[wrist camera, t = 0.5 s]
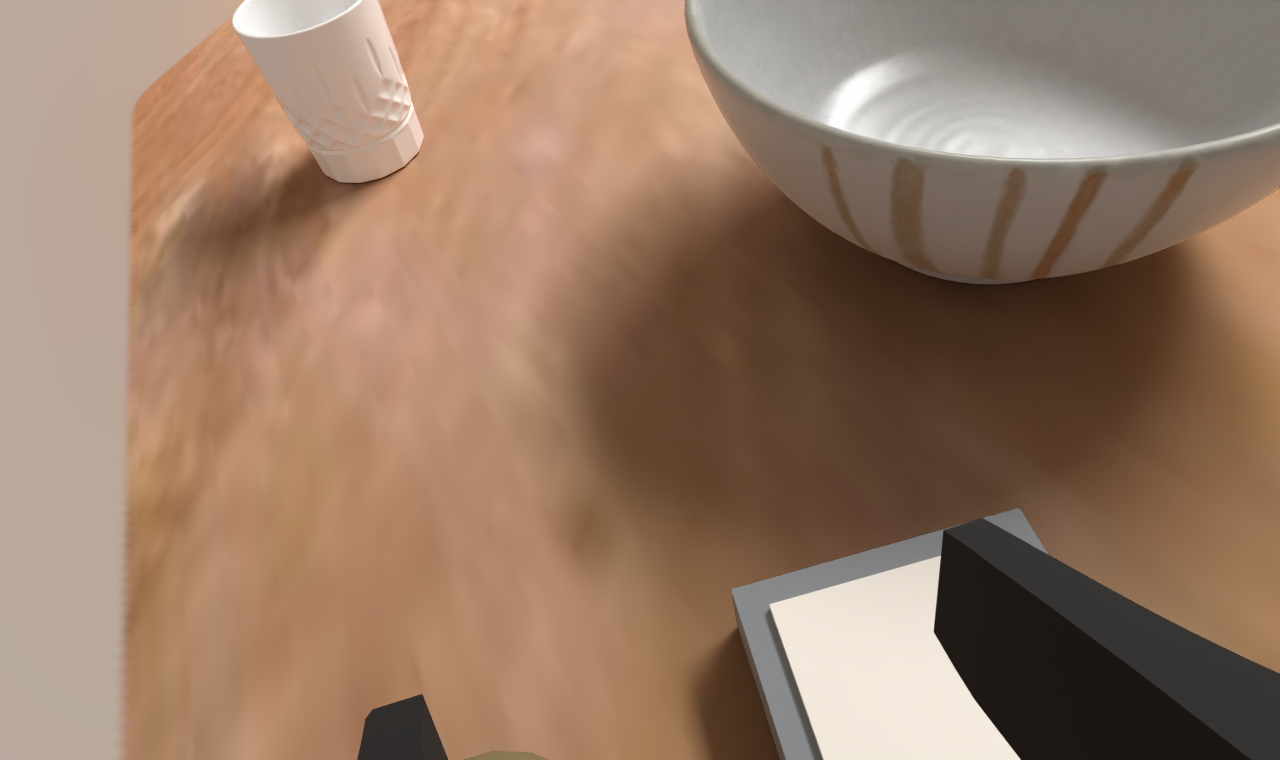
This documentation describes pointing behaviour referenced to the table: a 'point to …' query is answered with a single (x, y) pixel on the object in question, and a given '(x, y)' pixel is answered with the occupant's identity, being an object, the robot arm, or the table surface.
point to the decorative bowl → (1002, 122)
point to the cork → (507, 756)
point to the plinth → (865, 658)
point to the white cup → (335, 81)
